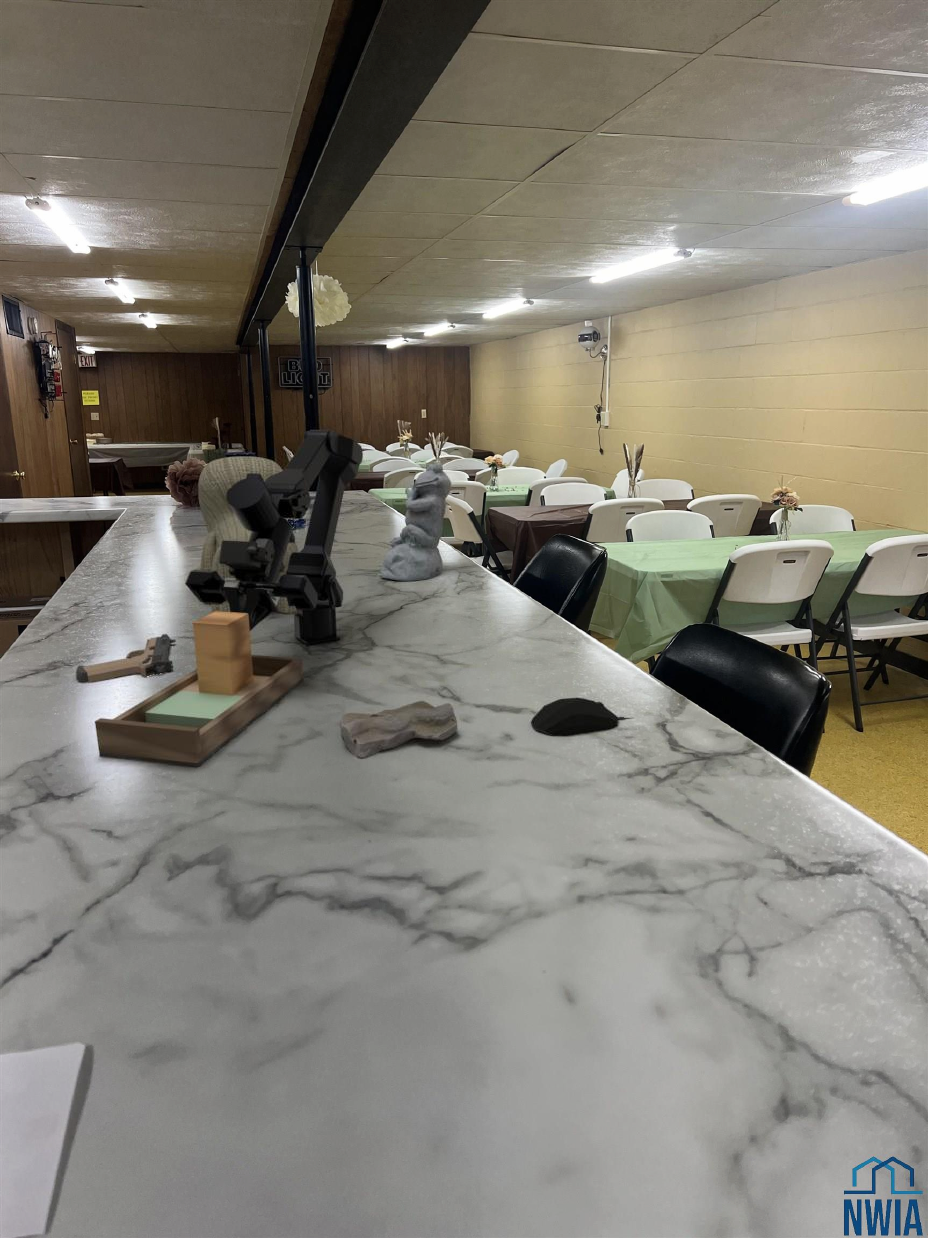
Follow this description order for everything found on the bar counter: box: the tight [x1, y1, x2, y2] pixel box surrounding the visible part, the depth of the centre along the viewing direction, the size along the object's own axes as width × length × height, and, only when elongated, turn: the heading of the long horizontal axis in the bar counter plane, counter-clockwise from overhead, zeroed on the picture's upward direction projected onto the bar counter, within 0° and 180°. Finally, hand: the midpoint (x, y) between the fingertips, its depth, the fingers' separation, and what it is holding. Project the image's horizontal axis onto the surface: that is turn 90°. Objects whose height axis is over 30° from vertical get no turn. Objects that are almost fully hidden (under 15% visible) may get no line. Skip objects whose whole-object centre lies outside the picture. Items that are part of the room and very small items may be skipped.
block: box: [192, 611, 253, 696], centre depth 107 cm, size 6×5×10 cm
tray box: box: [94, 654, 304, 768], centre depth 105 cm, size 30×13×4 cm, turn 168°
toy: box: [197, 455, 299, 615], centre depth 161 cm, size 21×30×30 cm
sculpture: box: [379, 461, 452, 582], centre depth 187 cm, size 18×16×30 cm
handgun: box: [75, 633, 177, 684], centre depth 127 cm, size 19×3×14 cm
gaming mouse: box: [530, 697, 633, 737], centre depth 102 cm, size 6×15×4 cm, turn 105°
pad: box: [145, 691, 244, 730], centre depth 102 cm, size 8×11×2 cm
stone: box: [339, 700, 458, 759], centre depth 98 cm, size 15×10×4 cm, turn 112°
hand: (235, 640), depth 110 cm, fingers closed
